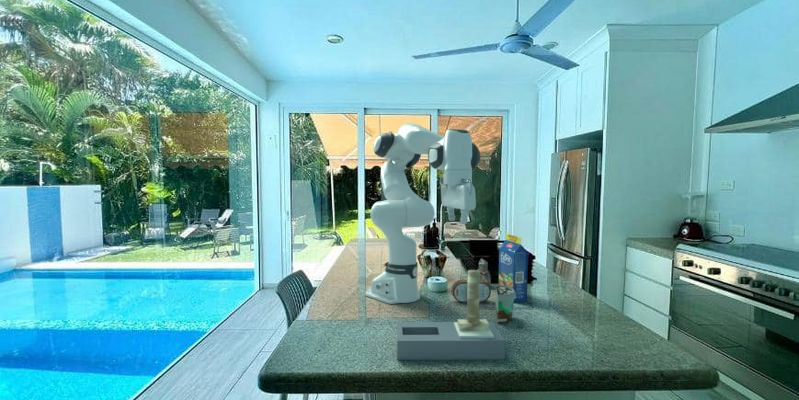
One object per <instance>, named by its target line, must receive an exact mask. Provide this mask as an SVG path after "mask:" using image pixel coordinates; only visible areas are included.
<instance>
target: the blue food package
mask: <svg viewBox="0 0 799 400" xmlns="http://www.w3.org/2000/svg"><path fill="white" fill-rule="evenodd" d="M505 235H506V236H505V240H504V241H503V243H502V244H501V245H500V247H499V251H498V252H499V253H498V285H504V286H508V287H511V288H513V289H514V291H515V294H516V299H514V303H523V302H528V270H529V268H528V266H529V259H528V257H529V256H528V251H527V250H526V249H525V247H524V246H523V244H522V237H520V236H517V235H513V234H510V233H508V232H507V233H505Z"/></svg>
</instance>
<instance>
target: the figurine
mask: <svg viewBox="0 0 799 400" xmlns="http://www.w3.org/2000/svg"><path fill="white" fill-rule="evenodd" d="M488 265H489V263H488V261H487V260H485V259H484V258H480V260H479V261H478V268H477V269H476V270H478V271H480V280H483V281H485V282H487V284H488V285H489V287H490V288H491V284H492V283H491V273H490V271H489V270H488V268H489V267H488Z"/></svg>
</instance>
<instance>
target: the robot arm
mask: <svg viewBox="0 0 799 400" xmlns="http://www.w3.org/2000/svg"><path fill="white" fill-rule="evenodd" d="M373 152H374V154H375V155H376V156H377V157H379V158H383V159H386V161H385V162H384V163H383V164H382V165H381V168H380V180H381V188H382V190H383V196H384V197H385V199H386V200H385V199H384V200H379V201H376V202H375V203H374V204H373V205H372V206H371V209H370V212H369V213H370V214H369V215H370V220H371V222H372V224H373V225H374V226H375V227H377V228H378V229H379V231H381V232H382V234H383V235H384V237H385V239H386V242H387V247H388V249H387V250H388V261H387V262H385V263H383V264H382V265H383V266H382V268H385V269H384V270H383V272H381V273H379V274H378V275H377V276H376V277H375V278H373V279H372V281H371V286H370V288H369V289H368V290H366V291H365V294H364V296H365V297H368V298H371V299H374V300H377V301H380V302H382V303H386V304H389V305H394V304H395V305H396V304H406V303H407V304H408V303H413V302H416V301H419V300H420V299H421V295H420V289H419V285H418V284H419V283H418V274H419V273H418V271H419V270H418V269H419V268H418V266H419V265H418V264H419V263H418V261H417V260H418V259H417V256H418V255H417V247H418V246H417V242H416V241H415V239H414V238H411V236H407V235H405V234H404V233H403V229H404V228H422V227H425V226H426V227H427V226H429V225H431V223H432V222H433V221H434V219H435V214H436V213H435V208H434V206H433V204H432V203H431V202H430V201H428V200H426V199H424V198H422V197H420V196H419V195H418V194H417V193H415V191H413V190H412V188H411V187H410V184H409V182H408V179H407V176H406V173H405V170H410V169H411V168H412V167H414V166H415V165H416V164H418V162H419V161H420V159H421V156H422V155H427V159H428V160H427V161H428V163H429V165H430V166H431V168H433V170H439V171H440V170H441V171H443V175H442V176H441V177H440V179H439V185H440V187H441V188H440V196H441V197H440V198H441V199H440V200H441V205H442V206H443V207H446V210H447V213H448V220H449V221H450V222H453V221H456V215H455V209H458V210H460V214H461V215H460V218H459V224H461V225H467V223H468V217H469V215H470V211H475V209H476V207H477V201H476V200H477V198H476V189H475V186H474V185H473V181H472V180H473V179H472V178H473V170H474V169H476V168H477V167H478V165H479V164H480V162H481V157H482V156H481V151H480V149H479V148H478V146H477V145H476V144H475V143H474V142H473V141H472V135H471V132H470V131H469V130H467V129H459V128H449V129H447V130H446V131H445V134H444V136H442V135H441V134H438V133H437V132H436V133H435V132H433V131H431V130H429V129H427V128H425V127H424V126H422V125H419V124H418V123H417V124H415V123H411V122H410V123H405V124H403V125H401V126H400V128H399V129H398V131H397V132H396V133H393V131H388V132H384V133H380V134H378V135H377V136H376V138H375V140H374V142H373Z"/></svg>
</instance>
